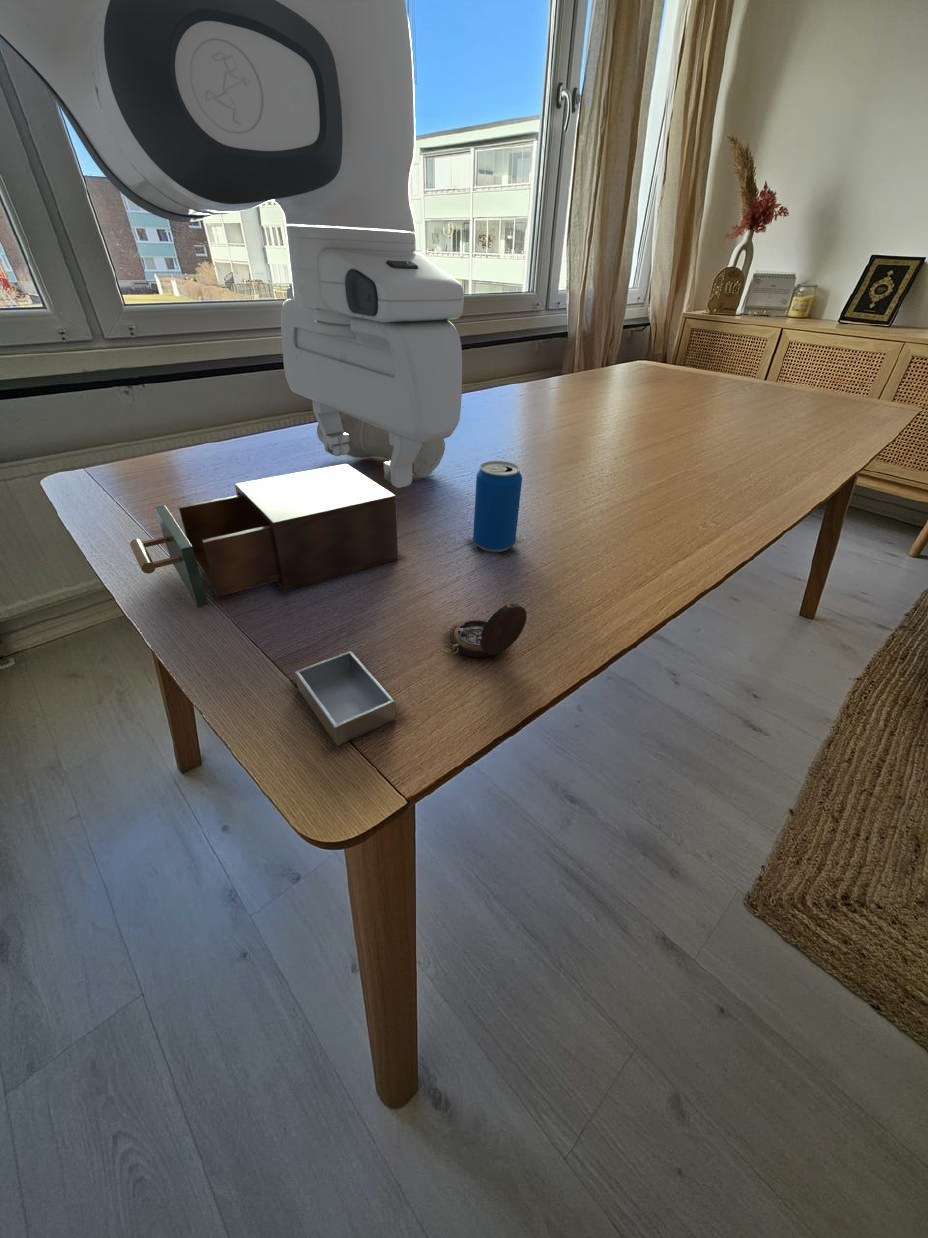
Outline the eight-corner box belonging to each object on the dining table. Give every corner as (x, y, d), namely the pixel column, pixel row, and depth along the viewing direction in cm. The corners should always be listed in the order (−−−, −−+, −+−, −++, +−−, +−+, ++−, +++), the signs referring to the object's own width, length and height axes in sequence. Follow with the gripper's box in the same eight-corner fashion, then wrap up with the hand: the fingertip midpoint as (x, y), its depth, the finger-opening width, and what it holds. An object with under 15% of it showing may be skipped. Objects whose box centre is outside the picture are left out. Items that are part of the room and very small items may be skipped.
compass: (478, 620, 65) (482, 567, 61) (525, 652, 60) (532, 598, 56) (425, 644, 60) (426, 590, 56) (472, 681, 56) (475, 625, 52)
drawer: (160, 618, 61) (139, 558, 56) (137, 569, 70) (117, 513, 65) (321, 572, 71) (314, 518, 66) (283, 534, 80) (275, 484, 75)
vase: (496, 406, 100) (392, 345, 110) (420, 405, 83) (307, 334, 93) (458, 508, 112) (368, 445, 122) (385, 524, 96) (288, 451, 105)
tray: (337, 746, 48) (334, 727, 46) (298, 689, 54) (294, 671, 52) (395, 719, 51) (394, 701, 49) (352, 668, 57) (350, 650, 55)
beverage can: (522, 550, 81) (531, 472, 74) (484, 557, 78) (490, 477, 71) (502, 532, 85) (508, 457, 78) (465, 538, 83) (469, 462, 76)
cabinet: (285, 592, 68) (273, 522, 63) (247, 547, 78) (234, 483, 72) (398, 559, 77) (395, 495, 71) (351, 522, 86) (346, 463, 81)
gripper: (250, 270, 43) (277, 443, 51) (402, 291, 31) (406, 515, 39) (320, 271, 46) (335, 433, 54) (482, 291, 34) (471, 496, 42)
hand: (366, 467), depth 46 cm, fingers open, 8 cm apart
